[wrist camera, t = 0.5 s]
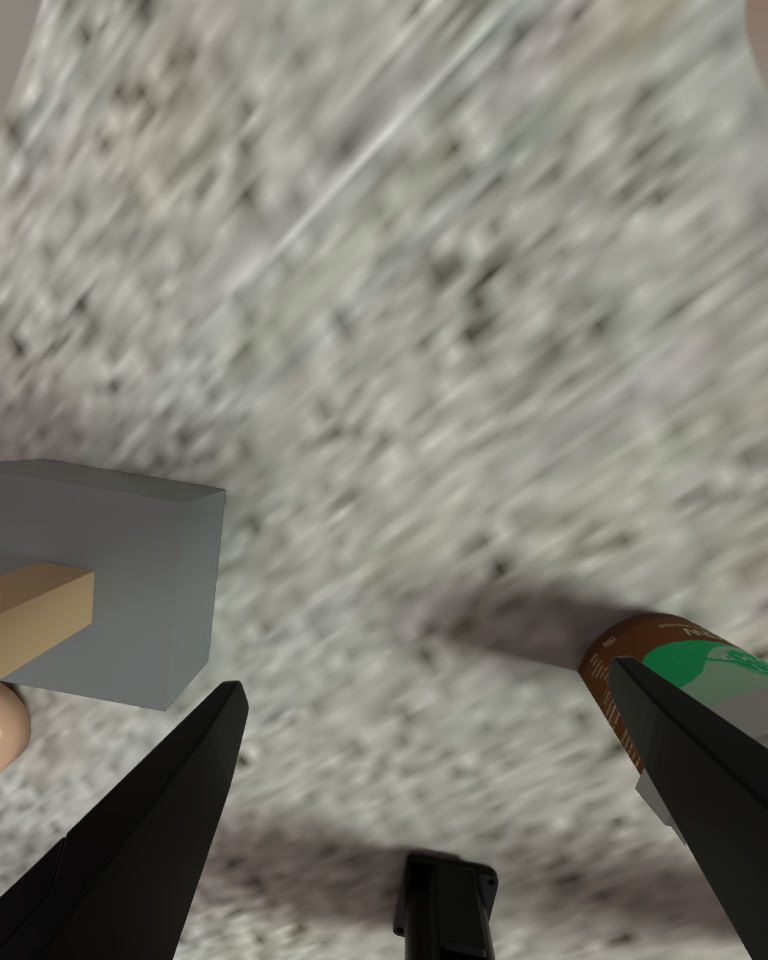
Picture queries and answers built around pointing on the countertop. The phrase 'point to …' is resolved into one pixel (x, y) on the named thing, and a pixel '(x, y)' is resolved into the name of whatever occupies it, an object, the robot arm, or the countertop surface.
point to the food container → (680, 680)
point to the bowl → (12, 727)
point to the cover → (105, 581)
